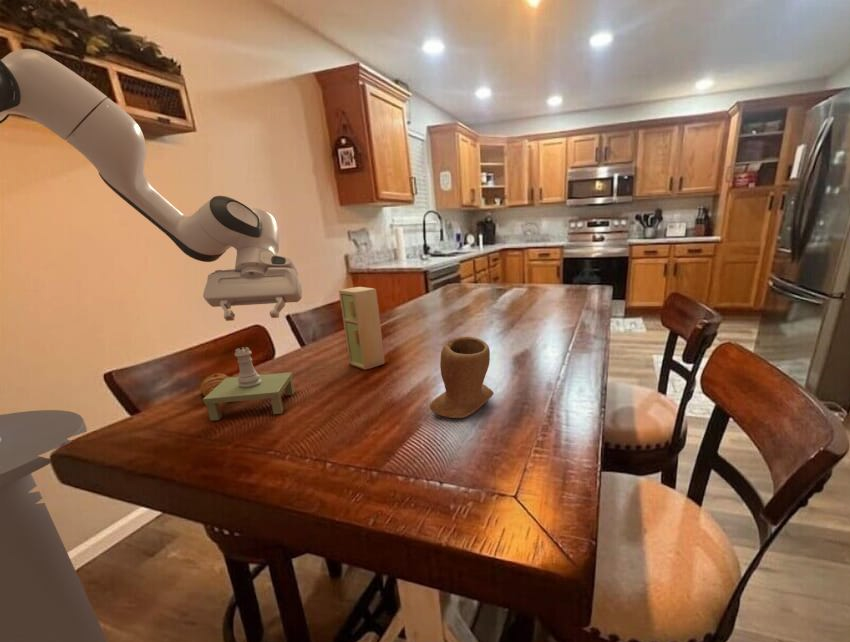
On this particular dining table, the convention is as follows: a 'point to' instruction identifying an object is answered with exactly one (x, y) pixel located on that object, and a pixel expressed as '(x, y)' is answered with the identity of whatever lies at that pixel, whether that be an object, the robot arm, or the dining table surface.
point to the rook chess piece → (246, 369)
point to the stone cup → (463, 377)
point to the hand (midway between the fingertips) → (251, 317)
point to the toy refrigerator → (362, 327)
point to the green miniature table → (250, 392)
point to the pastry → (212, 383)
